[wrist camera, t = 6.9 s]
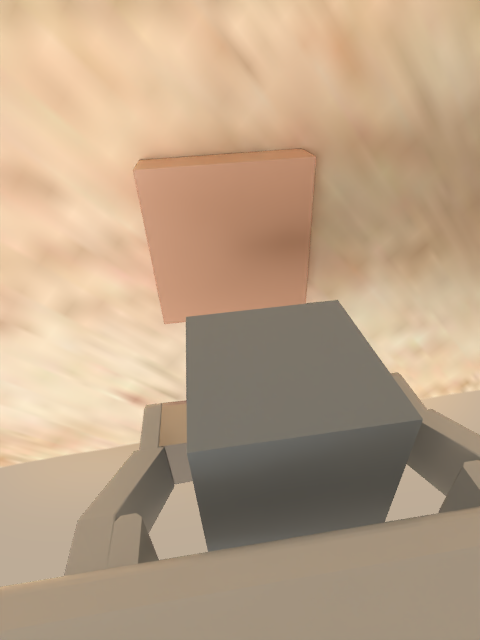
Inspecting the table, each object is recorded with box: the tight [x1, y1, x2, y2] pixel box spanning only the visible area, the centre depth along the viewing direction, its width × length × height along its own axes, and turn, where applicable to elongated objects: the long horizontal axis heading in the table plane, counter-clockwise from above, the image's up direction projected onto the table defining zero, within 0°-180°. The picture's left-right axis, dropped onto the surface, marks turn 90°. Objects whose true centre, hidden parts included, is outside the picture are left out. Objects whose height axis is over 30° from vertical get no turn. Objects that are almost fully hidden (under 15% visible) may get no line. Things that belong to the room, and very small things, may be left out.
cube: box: [186, 300, 423, 552], centre depth 11 cm, size 5×5×5 cm
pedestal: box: [133, 149, 316, 324], centre depth 23 cm, size 10×10×3 cm
